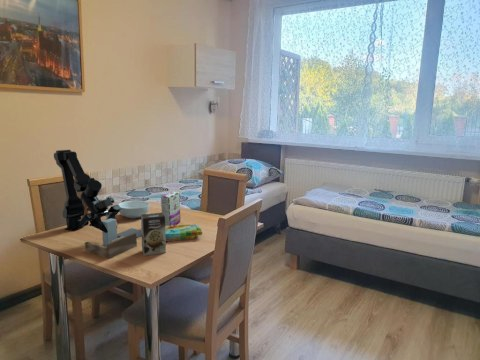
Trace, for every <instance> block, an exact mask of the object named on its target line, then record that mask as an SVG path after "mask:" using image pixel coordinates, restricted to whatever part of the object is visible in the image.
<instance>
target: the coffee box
mask: <svg viewBox="0 0 480 360" xmlns="http://www.w3.org/2000/svg"><path fill="white" fill-rule="evenodd" d="M140 226H141V229H140V230H142V236H141V251H142V253H143V256H152V255H160V254H164V253H167V252H166V251H167V248H166V247H167V246H166V245H167V244H166V242H167V241H166V236H165V216H164V214H163V213H162V212H156V213H155V212H153V213H146V214H141V217H140Z"/></svg>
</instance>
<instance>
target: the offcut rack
mask: <svg viewBox="0 0 480 360" xmlns="http://www.w3.org/2000/svg"><path fill="white" fill-rule="evenodd" d="M137 241H138V238H137V237H136V233H132V234H130V235H127V236H122V237H117V239H115V240H112V241H110V243H108V244H107V246H104V245H101V244H96V243H94V242H89V241H85V242H84V247H85V249H84V251H85V252H86V253H89V254H93V255H96V256H99V257H103V258H107V259H113V258H114V257H117V256H119V255H121V254H123V253H126V252H127V251H129V250H131V249H134V248H135V247H138V242H137Z"/></svg>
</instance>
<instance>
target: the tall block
mask: <svg viewBox="0 0 480 360" xmlns="http://www.w3.org/2000/svg"><path fill="white" fill-rule="evenodd" d="M106 219H107V218H106ZM106 219H104V220H101V221H102V223H103V224H104V226H105V227H106V229H107V231H108V232H107V233H105V232H103V231H101V233H102V246H105V247H107V244H108V243H110V241H112V240H115V239H117V238H118V237H117V234H118V223H117V218H115V219H112V218H110V219H107V220H106Z"/></svg>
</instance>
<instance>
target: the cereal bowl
mask: <svg viewBox="0 0 480 360" xmlns="http://www.w3.org/2000/svg"><path fill="white" fill-rule="evenodd" d="M118 205H119V206H120V207H121V210H120V211H119V212H118V213H119V214H120V215H122V216H123V217H125V218H127V219H137V218H141V214H148V213H149V211H150V203H149V202H148V201H144V200H128V201H127V200H126V201H123V202H120V203H118Z"/></svg>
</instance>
